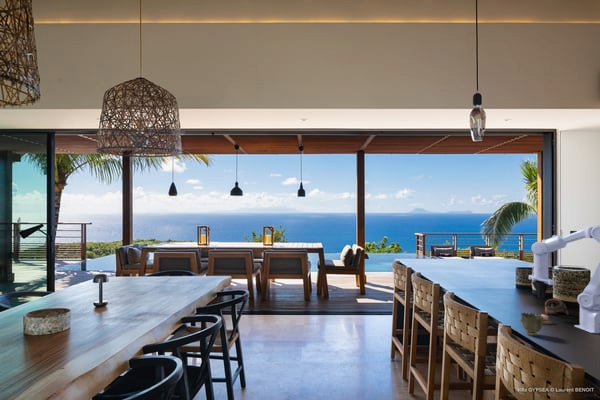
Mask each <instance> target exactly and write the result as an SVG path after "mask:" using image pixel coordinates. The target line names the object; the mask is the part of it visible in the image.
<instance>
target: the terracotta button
mask: <svg viewBox="0 0 600 400" xmlns="http://www.w3.org/2000/svg"><path fill="white" fill-rule="evenodd" d="M540 315H542V316H543V320H549V315H548V314H543V313H542V314H540Z"/></svg>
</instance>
